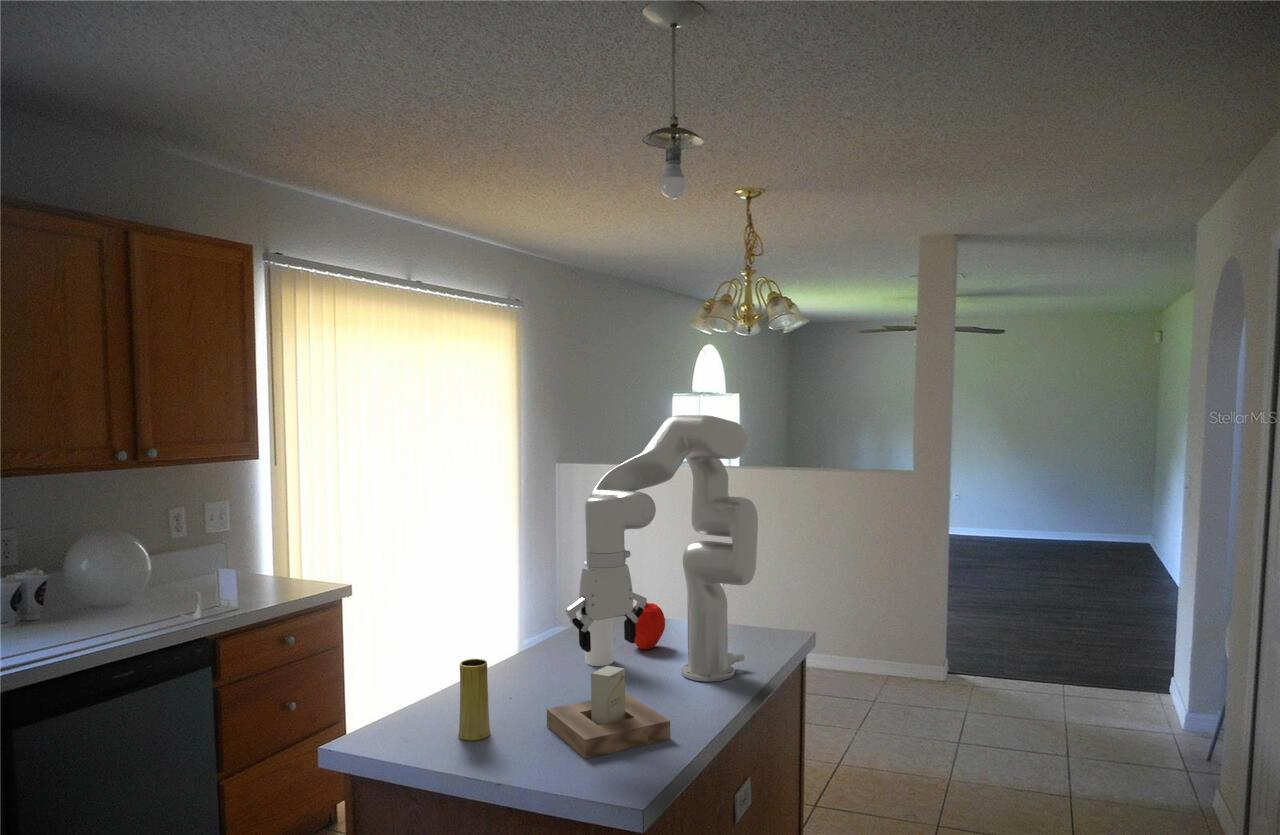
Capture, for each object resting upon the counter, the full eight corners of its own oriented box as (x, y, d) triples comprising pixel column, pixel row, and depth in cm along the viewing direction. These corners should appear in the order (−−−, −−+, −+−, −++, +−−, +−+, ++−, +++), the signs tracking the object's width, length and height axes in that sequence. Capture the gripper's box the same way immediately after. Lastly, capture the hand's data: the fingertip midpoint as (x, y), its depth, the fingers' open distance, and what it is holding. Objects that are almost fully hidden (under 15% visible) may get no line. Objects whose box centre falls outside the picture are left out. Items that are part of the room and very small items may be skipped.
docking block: (626, 709, 177) (625, 693, 177) (670, 738, 162) (670, 720, 161) (546, 726, 168) (546, 708, 168) (585, 758, 153) (585, 739, 153)
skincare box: (609, 739, 161) (609, 676, 161) (590, 735, 164) (589, 673, 164) (626, 728, 167) (626, 667, 167) (607, 724, 169) (607, 664, 169)
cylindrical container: (609, 666, 207) (608, 565, 206) (581, 665, 208) (580, 564, 208) (616, 658, 214) (615, 560, 213) (589, 656, 215) (588, 559, 215)
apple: (665, 653, 217) (665, 606, 217) (627, 653, 217) (627, 606, 217) (665, 642, 227) (664, 597, 227) (628, 643, 227) (628, 598, 227)
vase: (460, 729, 167) (459, 658, 167) (491, 728, 168) (490, 657, 167) (456, 742, 161) (455, 667, 161) (488, 740, 162) (487, 666, 161)
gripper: (635, 551, 172) (637, 634, 173) (557, 561, 164) (559, 648, 164) (653, 557, 166) (655, 643, 166) (573, 568, 157) (576, 658, 158)
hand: (608, 645), depth 165 cm, fingers open, 9 cm apart
